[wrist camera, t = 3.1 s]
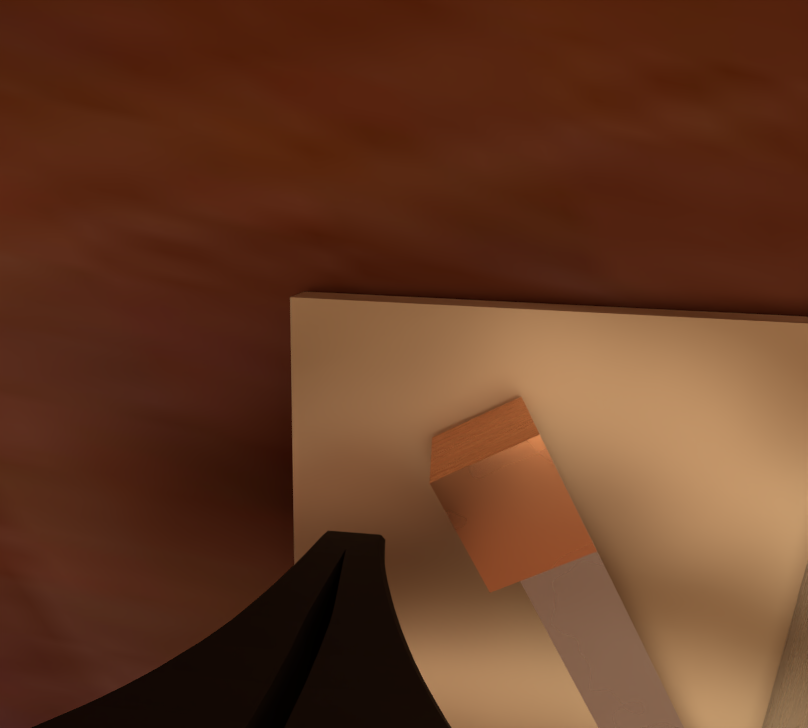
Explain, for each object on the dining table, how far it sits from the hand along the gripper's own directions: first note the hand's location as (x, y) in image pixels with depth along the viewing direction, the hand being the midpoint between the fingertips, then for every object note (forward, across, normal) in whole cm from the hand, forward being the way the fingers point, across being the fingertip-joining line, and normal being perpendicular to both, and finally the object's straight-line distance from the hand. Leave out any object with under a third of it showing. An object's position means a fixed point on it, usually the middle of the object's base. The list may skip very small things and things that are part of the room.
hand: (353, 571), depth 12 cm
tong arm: (+1, -5, +1) cm, 6 cm away
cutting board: (+2, -7, +2) cm, 8 cm away
